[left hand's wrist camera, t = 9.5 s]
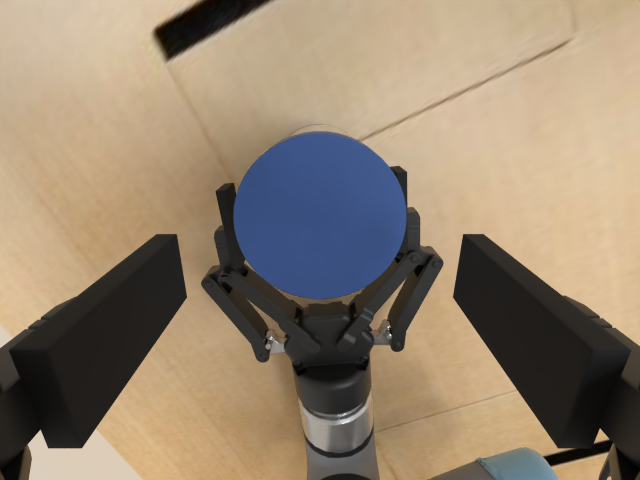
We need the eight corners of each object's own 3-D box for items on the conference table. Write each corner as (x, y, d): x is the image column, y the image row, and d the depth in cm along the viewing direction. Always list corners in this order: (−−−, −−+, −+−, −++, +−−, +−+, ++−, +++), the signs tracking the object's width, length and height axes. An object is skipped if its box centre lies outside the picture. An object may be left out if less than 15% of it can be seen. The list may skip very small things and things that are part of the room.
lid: (312, 306, 22) (311, 326, 20) (209, 204, 20) (196, 215, 18) (428, 220, 20) (440, 232, 18) (329, 93, 18) (330, 91, 16)
